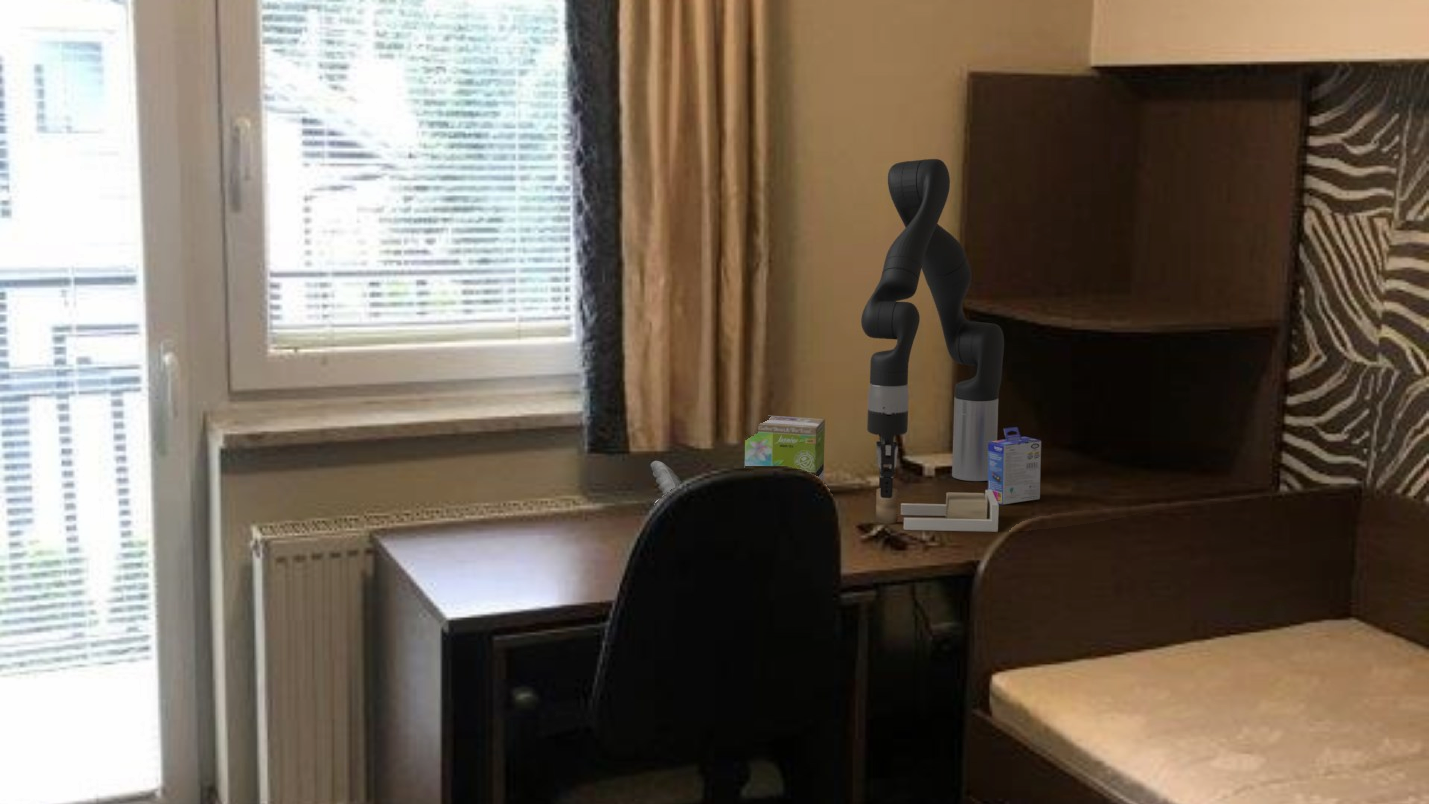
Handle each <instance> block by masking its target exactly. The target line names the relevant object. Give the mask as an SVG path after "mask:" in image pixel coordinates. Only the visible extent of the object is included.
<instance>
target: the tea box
mask: <svg viewBox="0 0 1429 804" xmlns="http://www.w3.org/2000/svg"><path fill="white" fill-rule="evenodd" d="M770 416H771V417H770V418H769V420H767V421H765V422H763V423H760V424H759V425H758V430H759V431H758V433H757V434H754V436H751V437H750V438H748V439H747V440H745V439H744V467H745V466H788V467H792V468H797V469H802V470H805V471H807V472H811V473H812V474H814V475H816V476H818V477H819V478H821V480H823V481H824V471H825V470H824V469H825V434H826V433H825V432H826V431H825V429H826V427H825V426H826V419H825V418H813V417H798V416H797V417H796V416H783V415H770Z"/></svg>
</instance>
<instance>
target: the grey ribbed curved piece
mask: <svg viewBox="0 0 1429 804" xmlns="http://www.w3.org/2000/svg"><path fill="white" fill-rule="evenodd" d="M649 466H650V467H651V470H652V475H653V476H654V478H655V479H656V480H655V483H656V484H657V485H658V486H657V489H658V490H660V491H661V493H662V495H663V496H664V495H666V494H667V492H670V490H671V489H673V488H675V487H677V486H678V485H679V484H682V483H683V482H682V481H681V479H680V477H679V476H677V475H678V474H677V475H676V474H675V472H674V471H673V469H671V467H669V466H667V465H666V464H665V463H664V462H662V461H660V460H654V461H652V462H651V463H650V465H649ZM658 500H659V499H656V501H655V502H654V504H655V503H656V502H657V501H658Z"/></svg>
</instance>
